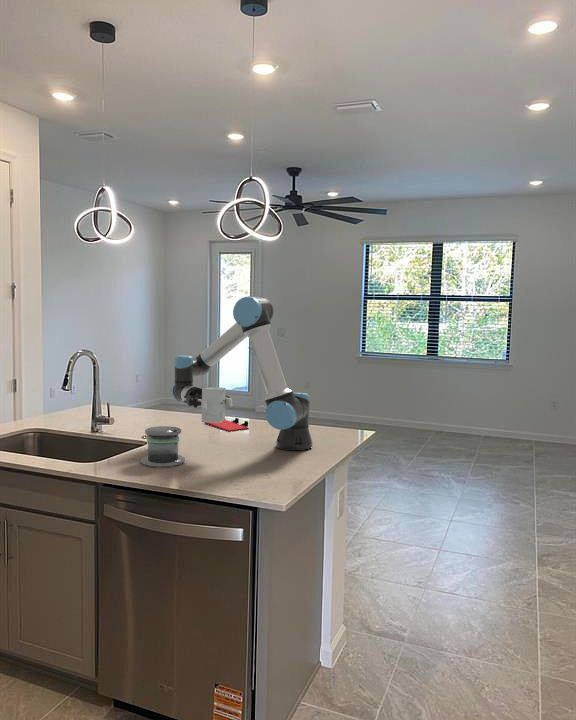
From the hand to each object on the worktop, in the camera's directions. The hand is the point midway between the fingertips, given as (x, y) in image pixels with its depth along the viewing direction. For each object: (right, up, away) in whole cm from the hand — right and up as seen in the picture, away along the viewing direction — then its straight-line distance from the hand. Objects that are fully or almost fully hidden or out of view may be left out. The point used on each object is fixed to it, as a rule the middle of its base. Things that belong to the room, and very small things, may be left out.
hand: (219, 403), depth 219 cm
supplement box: (-3, -7, +4) cm, 9 cm away
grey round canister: (-20, -21, -3) cm, 30 cm away
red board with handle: (-5, -16, +69) cm, 71 cm away
